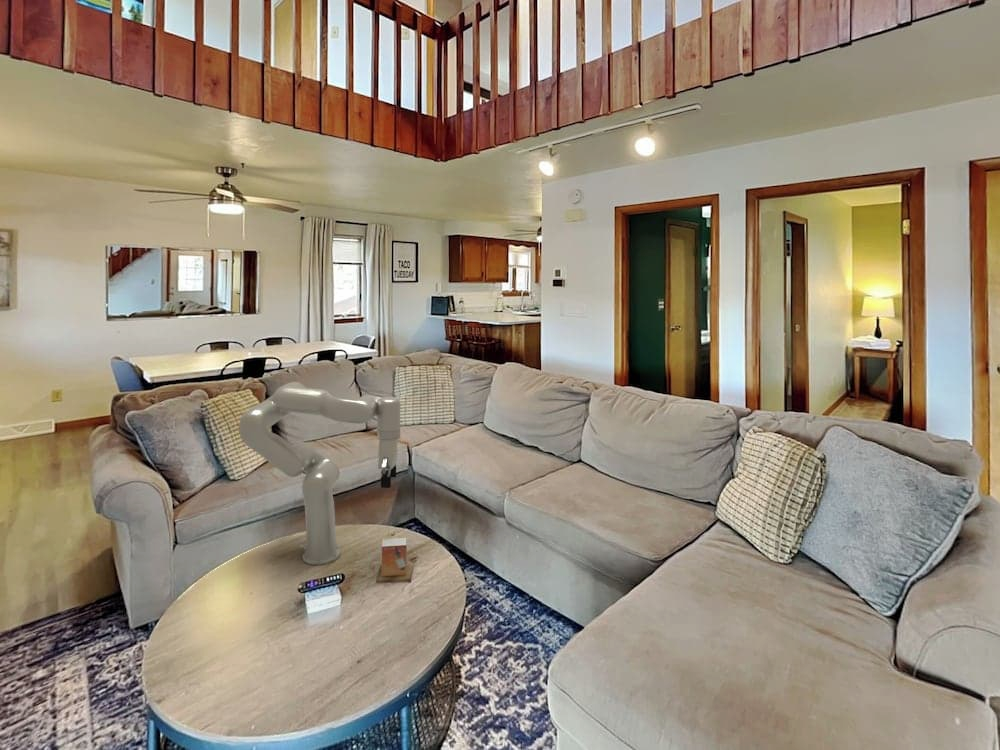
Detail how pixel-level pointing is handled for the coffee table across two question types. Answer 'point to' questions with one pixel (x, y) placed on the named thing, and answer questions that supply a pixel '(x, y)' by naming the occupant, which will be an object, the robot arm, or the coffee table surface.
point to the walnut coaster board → (395, 578)
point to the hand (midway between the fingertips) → (388, 482)
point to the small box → (394, 556)
